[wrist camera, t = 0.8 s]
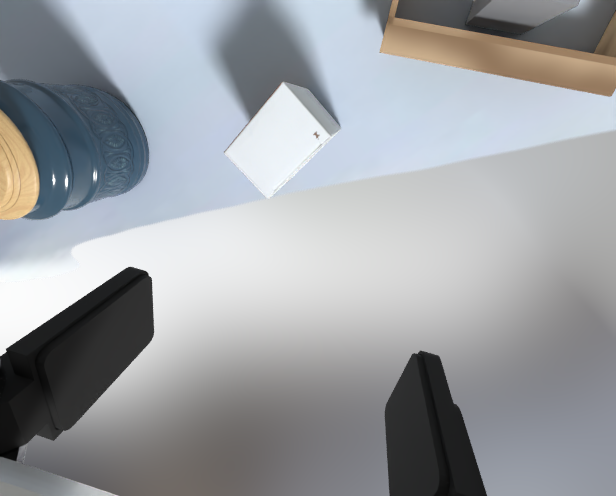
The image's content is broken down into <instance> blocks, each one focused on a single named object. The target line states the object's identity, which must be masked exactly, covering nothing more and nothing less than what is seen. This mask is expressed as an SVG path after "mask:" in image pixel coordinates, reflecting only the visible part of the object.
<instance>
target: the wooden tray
mask: <svg viewBox="0 0 616 496" xmlns="http://www.w3.org/2000/svg"><path fill="white" fill-rule="evenodd" d="M398 2H399V0H392V4H391V8H390V12H389V16H388V20H387V24H386V28H385V32H384V36H383V40H382V44H381V48H380V53H385V54H390V55H395V56H401V57H406V58H411V59H416V60H421V61H427V62H432V63H437V64H442V65H447V66H453V67H458V68H463V69H468V70H473V71H479V72H484V73H489V74H494V75H499V76H505V77H510V78H515V79H520V80H525V81H531V82H536V83H541V84H546V85H551V86H557V87H562V88H567V89H572V90H577V91H583V92H588V93H593V94H598V95H603V96H612V94H613V92H614V91H615V89H616V11H615V13H614V15H613V17H612V18H611V20H610V22H609V24H608V26H607V28H606V30H605V32H604V34H603V36H602V38H601V40H600V42H599V44H598V45H597V47H596V49H595V51H594V53H587V52H582V51H576V50H571V49H566V48H560V47H555V46H549V45H544V44H538V43H533V42H527V41H522V40H516V39H511V38H505V37H500V36H494V35H489V34H483V33H478V32H472V31H467V30H461V29H456V28H450V27H445V26H439V25H434V24H428V23H423V22H417V21H412V20H406V19H401V18H395V13H396V9H397V6H398Z"/></svg>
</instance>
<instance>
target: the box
mask: <svg viewBox="0 0 616 496" xmlns="http://www.w3.org/2000/svg"><path fill="white" fill-rule="evenodd" d="M579 2H580V0H474V1H473V4H472V7H471V9H470V12H469V15H468V18H467V21H466V24H465V25H470V26H476V27H481V28H487V29H492V30H498V31H504V32H509V33H515V34H520V35H521V34H523V33H525V32H527V31H529V30H531V29H533V28H535V27H537V26H539V25H541V24H543V23H545V22H547V21H549V20H551V19H553V18H555V17H557V16H559V15H560V14H562V13H564V12H566V11H568V10H570V9H572V8H574V7H576V6H578V4H579Z"/></svg>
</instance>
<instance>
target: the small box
mask: <svg viewBox="0 0 616 496" xmlns="http://www.w3.org/2000/svg"><path fill="white" fill-rule="evenodd" d="M340 130H341V127H340V126H339V125H338V124H337V123H336V121H335V120H334V119H333V118H332V117H331V115H330V114H329V113H328V112H327V111H326V109H325V108H324V107H323V106H322V105H321V104H320V102H319V101H318V100H317V99H316V98H315V96H314V95H313V94H312V93H311V92H310V91H309V89H306V88H303V87H300V86H297V85H294V84H291V83H287V82H281V84H280V85H279V86H278V87H277V89H276V90H275V91H274V92H273V93H272V95H271V96H270V97H269V98H268V100H267V101H266V102H265V103H264V104H263V106H262V107H261V108H260V109H259V110H258V112H257V113H256V114H255V115H254V117H253V118H252V119H251V120H250V121H249V123H248V124H247V125H246V126H245V127H244V129H243V130H242V131H241V132H240V134H239V135H238V136H237V137H236V138H235V140H234V141H233V142H232V143H231V144H230V146H229V147H228V148H227V149H226V150H225V151H224V154H225V155H226V156H227V157H228V158H229V159H230V160H231V161H232V162H233V163H234V164H235V165H236V166H237V168H238V169H239V170H240V171H241V172H242V173H243V174H244V175H245V176H246V177H247V178H248V179H249V180H250V181H251V182H252V183H253V184H254V186H255V187H256V188H257V189H258V190H259V191H260V192H261V193H262V194H263V195H264V196H265V197H266V198H267V199H269V198H270V197H271V196H272V195H274V194H275V193H276V192H277V191H278V190H279V189H280V188H281V187H282V186H283V185H284V184H286V183H287V182H288V181H289V180H290V179H291V178H292V177H293V176H294V175H295V174H296V173H297V172H298V171H299V170H300V169H301V168H302V167H303V166H304V165H305V164H306V163H307V162H308V161H309V160H310V159H311V158H312V157H313V156H315V155H316V154H317V153H318V152H319V151H320V150H321V149H322V148H323V147H324V146H325V145H326V144H327V143H328V142H329V141H330V140H331V139H332V138H333V137H334V136H335V135H336V134H337V133H338V132H339V131H340Z"/></svg>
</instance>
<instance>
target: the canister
mask: <svg viewBox="0 0 616 496" xmlns="http://www.w3.org/2000/svg"><path fill="white" fill-rule="evenodd" d="M148 163H149V150H148V144H147V140H146V137H145V134H144V131H143V129H142V127H141V125H140V123H139V122H138V120H137V118H136V117H135V116H134V114H133V113H132V112H131V111H130V109H129V108H128V107H127V106H126V105H125V104H124V103H123V102H121V101H120V100H119V99H117V98H116V97H114V96H113V95H111V94H109V93H107V92H104V91H101V90H99V89H96V88H93V87H89V86H83V85H66V86H65V85H54V84H44V83H36V82H33V81H29V80H23V79H13V80H7V81H2V80H0V219H4V220H11V219H17V218H24V219H29V220H44V219H48V218H51V217H53V216H55V215H57V214H58V213H60V212H61V211H62V210H64V211H68V210H75V209H79V208H81V207H83V206H85V205H86V204H88V203H91V202H94V201H97V200H101V199H104V198H107V197H114V196H118V195H120V194H124V193H126V192H128V191H130V190H131V189H132V188H133V187H135V186H137V185H138V184H139V183H140V182H141V181H142V179H143V178H144V176H145V174H146V171H147V168H148Z"/></svg>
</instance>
